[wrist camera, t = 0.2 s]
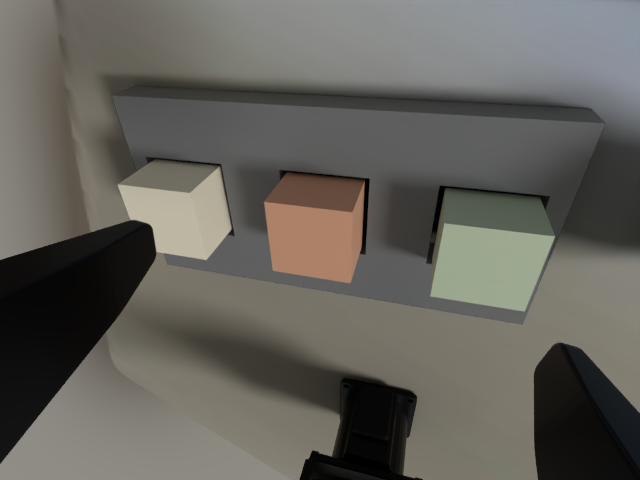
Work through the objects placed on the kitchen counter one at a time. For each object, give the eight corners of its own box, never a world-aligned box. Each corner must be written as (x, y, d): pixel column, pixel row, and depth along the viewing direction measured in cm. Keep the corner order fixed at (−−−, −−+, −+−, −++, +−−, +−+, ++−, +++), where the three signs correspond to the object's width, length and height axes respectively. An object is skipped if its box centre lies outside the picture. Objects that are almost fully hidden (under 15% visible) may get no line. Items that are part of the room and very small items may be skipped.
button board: (517, 301, 24) (522, 324, 23) (182, 248, 30) (167, 264, 28) (591, 108, 17) (605, 123, 16) (134, 86, 23) (111, 95, 21)
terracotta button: (361, 246, 23) (350, 283, 20) (292, 236, 24) (272, 270, 21) (365, 179, 20) (352, 212, 18) (287, 171, 21) (264, 201, 19)
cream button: (232, 228, 25) (206, 259, 22) (173, 220, 26) (141, 249, 23) (220, 165, 22) (189, 193, 20) (155, 159, 23) (117, 184, 21)
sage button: (515, 267, 21) (524, 311, 18) (432, 256, 22) (430, 296, 19) (539, 197, 18) (555, 236, 16) (444, 187, 19) (444, 223, 17)
